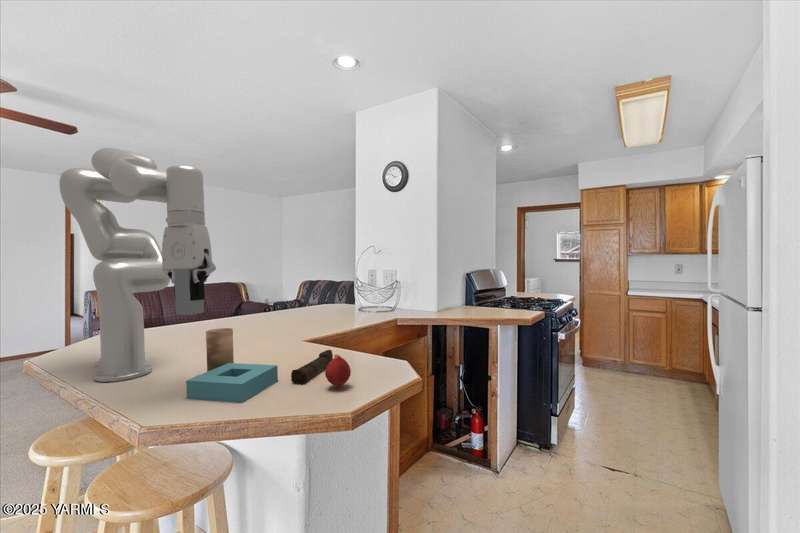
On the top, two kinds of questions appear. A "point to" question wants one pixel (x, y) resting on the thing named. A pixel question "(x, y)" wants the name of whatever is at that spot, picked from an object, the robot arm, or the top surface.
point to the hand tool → (311, 368)
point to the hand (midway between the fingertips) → (189, 299)
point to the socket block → (232, 382)
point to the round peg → (219, 347)
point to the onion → (338, 371)
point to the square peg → (186, 294)
